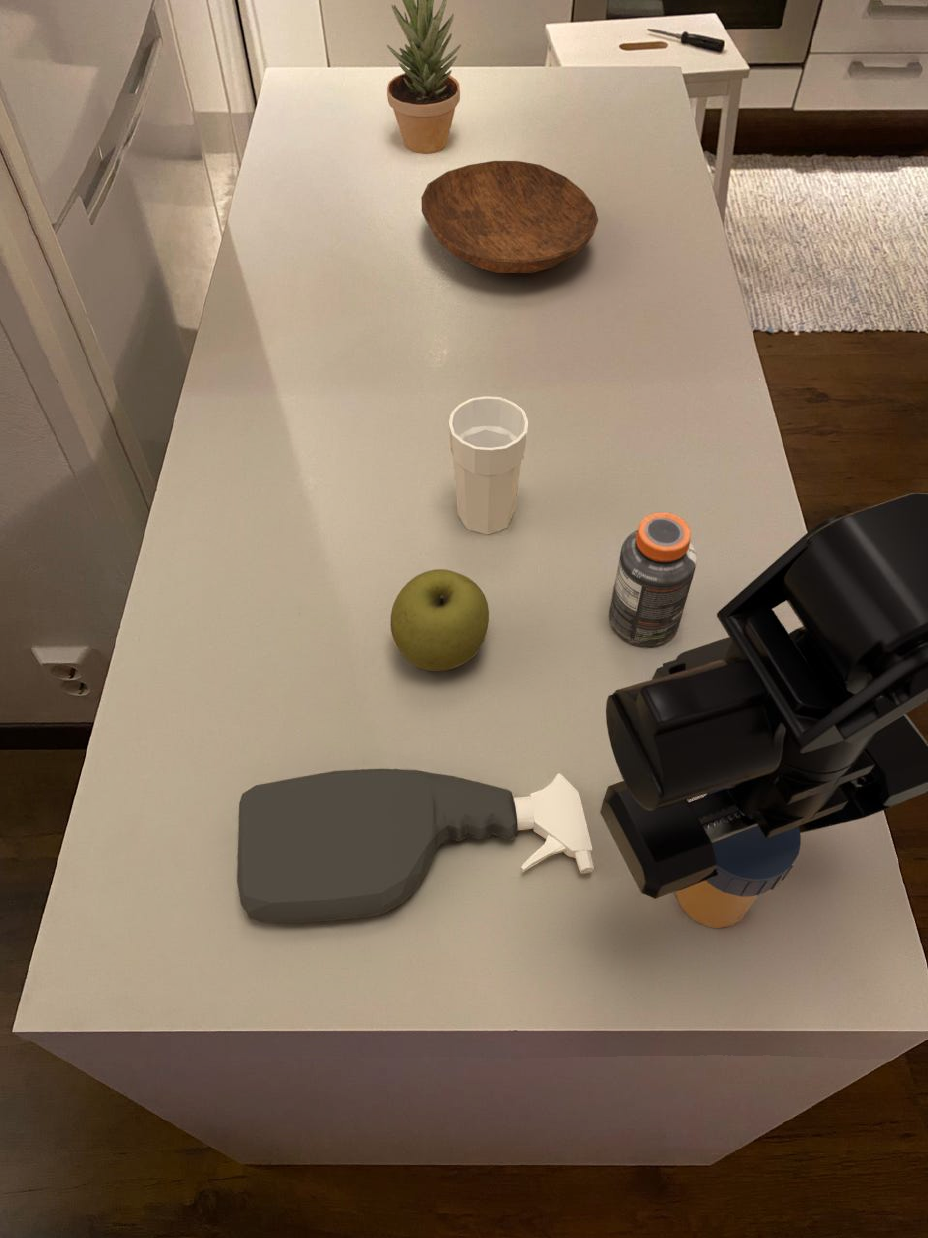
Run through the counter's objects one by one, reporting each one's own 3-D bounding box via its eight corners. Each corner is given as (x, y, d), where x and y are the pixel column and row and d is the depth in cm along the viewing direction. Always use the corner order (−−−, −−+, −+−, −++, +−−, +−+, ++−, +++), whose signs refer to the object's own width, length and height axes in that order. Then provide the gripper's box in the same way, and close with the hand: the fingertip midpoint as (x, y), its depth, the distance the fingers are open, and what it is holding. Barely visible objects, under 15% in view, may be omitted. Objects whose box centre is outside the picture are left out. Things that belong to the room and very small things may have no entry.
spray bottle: (244, 792, 71) (568, 759, 73) (241, 937, 64) (597, 897, 66) (237, 773, 68) (572, 740, 70) (233, 922, 62) (602, 881, 64)
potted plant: (381, 155, 127) (366, -61, 107) (400, 122, 132) (389, -90, 113) (454, 164, 125) (452, -54, 106) (470, 130, 131) (471, -83, 111)
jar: (726, 846, 68) (760, 784, 60) (764, 913, 65) (804, 857, 57) (661, 869, 67) (687, 810, 59) (697, 939, 64) (729, 886, 56)
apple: (507, 650, 78) (510, 597, 73) (433, 705, 75) (431, 654, 69) (447, 596, 82) (445, 541, 76) (374, 647, 79) (367, 593, 73)
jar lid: (667, 820, 61) (674, 801, 59) (753, 787, 63) (764, 767, 60) (718, 913, 58) (728, 896, 55) (809, 876, 59) (823, 858, 57)
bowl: (470, 317, 105) (470, 278, 101) (397, 219, 117) (394, 180, 113) (624, 275, 110) (630, 236, 106) (538, 185, 122) (541, 146, 118)
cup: (488, 551, 85) (491, 461, 76) (435, 514, 87) (432, 423, 79) (536, 512, 88) (544, 421, 79) (483, 477, 90) (485, 385, 82)
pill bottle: (684, 603, 81) (712, 512, 72) (670, 656, 78) (697, 568, 69) (617, 585, 82) (635, 493, 73) (600, 637, 79) (617, 548, 70)
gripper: (868, 558, 54) (792, 702, 67) (572, 654, 50) (550, 788, 63) (999, 715, 48) (888, 841, 60) (673, 839, 44) (627, 947, 56)
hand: (736, 848), depth 60 cm, fingers open, 8 cm apart
